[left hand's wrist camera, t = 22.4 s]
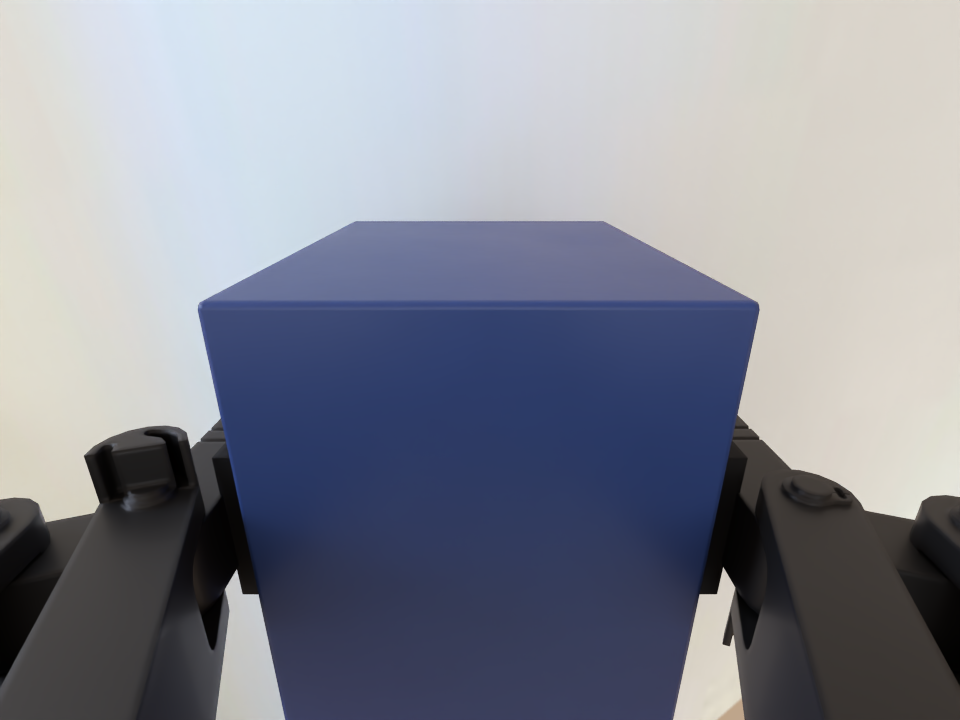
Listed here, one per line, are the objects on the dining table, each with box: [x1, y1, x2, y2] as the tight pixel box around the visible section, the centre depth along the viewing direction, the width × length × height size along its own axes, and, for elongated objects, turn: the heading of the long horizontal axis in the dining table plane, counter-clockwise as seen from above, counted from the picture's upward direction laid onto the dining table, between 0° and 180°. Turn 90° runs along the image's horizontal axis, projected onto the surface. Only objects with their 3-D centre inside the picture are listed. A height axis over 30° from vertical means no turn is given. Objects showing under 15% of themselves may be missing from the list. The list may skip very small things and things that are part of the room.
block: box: [198, 221, 759, 720], centre depth 11 cm, size 7×8×8 cm
